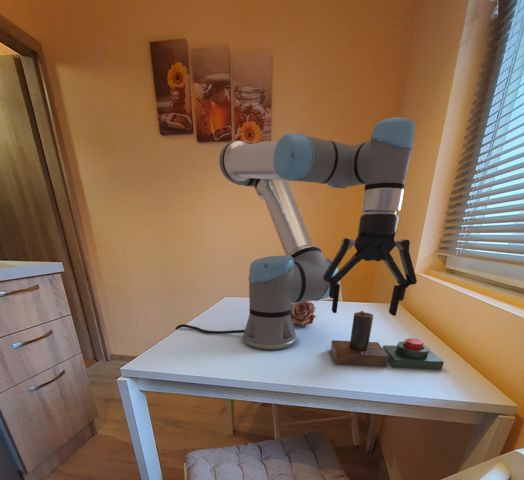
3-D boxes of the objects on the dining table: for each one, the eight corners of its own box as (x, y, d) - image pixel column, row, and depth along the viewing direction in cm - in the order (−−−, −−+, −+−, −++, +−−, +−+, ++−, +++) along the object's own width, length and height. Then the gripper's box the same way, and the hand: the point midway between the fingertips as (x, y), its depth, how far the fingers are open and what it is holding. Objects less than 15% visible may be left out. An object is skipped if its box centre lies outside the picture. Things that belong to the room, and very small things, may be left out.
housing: (393, 367, 66) (396, 352, 64) (381, 352, 74) (384, 338, 73) (441, 370, 65) (446, 354, 64) (424, 354, 73) (428, 340, 72)
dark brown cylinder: (369, 351, 67) (376, 316, 64) (351, 350, 68) (356, 315, 64) (365, 344, 71) (370, 311, 68) (347, 343, 72) (352, 310, 68)
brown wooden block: (335, 365, 67) (337, 353, 66) (330, 350, 75) (331, 339, 74) (386, 367, 66) (389, 355, 65) (375, 352, 74) (378, 341, 73)
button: (407, 350, 67) (409, 343, 66) (401, 344, 70) (402, 337, 70) (424, 351, 66) (426, 344, 66) (417, 345, 70) (419, 338, 69)
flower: (288, 314, 101) (286, 300, 95) (313, 310, 100) (313, 295, 94) (292, 336, 96) (290, 322, 90) (318, 331, 95) (318, 317, 89)
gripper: (433, 215, 60) (410, 310, 69) (317, 213, 62) (309, 306, 71) (451, 214, 53) (424, 319, 62) (320, 212, 55) (311, 314, 64)
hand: (362, 312), depth 66 cm, fingers open, 13 cm apart
